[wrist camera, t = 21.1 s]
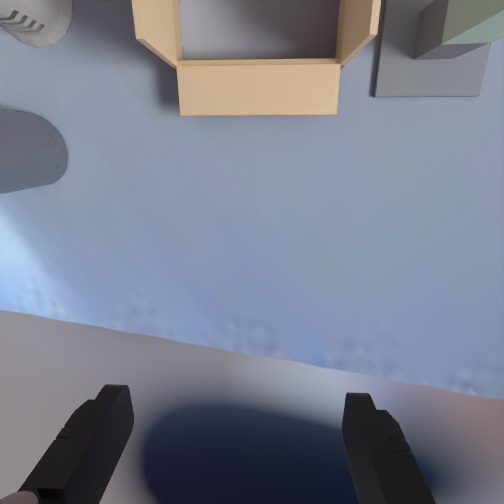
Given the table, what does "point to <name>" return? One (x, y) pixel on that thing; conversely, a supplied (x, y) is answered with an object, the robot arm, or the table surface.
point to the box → (457, 27)
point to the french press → (36, 20)
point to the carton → (255, 66)
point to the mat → (422, 71)
